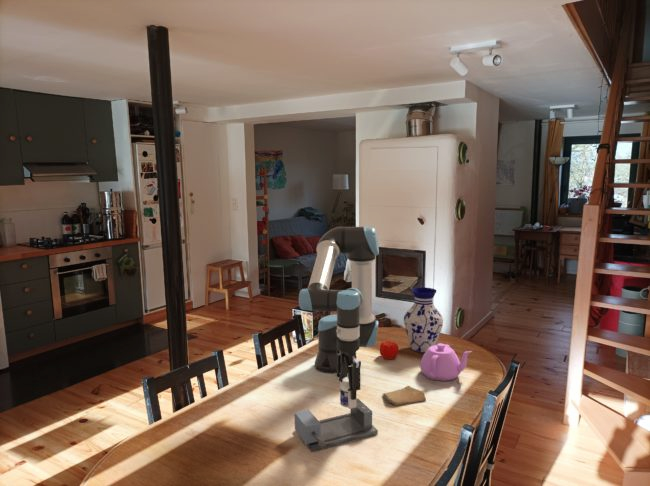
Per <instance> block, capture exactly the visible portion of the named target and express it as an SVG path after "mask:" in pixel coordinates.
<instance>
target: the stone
mask: <svg viewBox="0 0 650 486" xmlns="http://www.w3.org/2000/svg"><path fill="white" fill-rule="evenodd" d="M382 395H383V397H384V399H386V401H387V402H389V403H391V404H394V405H396V406H398V407H399V406H400V407H401V406H404V405H409V404H415V403H419V402H420V403H421V402H426V401H427V399H426V395H425V392H424V391H423V390H420V389H417V388H414V387H412V386H410V385H407V386H405V387H404V388H403V387H402V388H400V389H397V390H393V391H388V392H384V393H382Z"/></svg>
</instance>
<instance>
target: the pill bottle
mask: <svg viewBox="0 0 650 486" xmlns="http://www.w3.org/2000/svg"><path fill="white" fill-rule="evenodd" d="M348 389H350V388H349V379H348V376H347V377H345V378H343V379H342V385H341V387H340V386H339V401H340V402H339V403H340V405H341V406H342V407H343V408H347V409H349V408H348Z"/></svg>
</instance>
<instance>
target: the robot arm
mask: <svg viewBox="0 0 650 486" xmlns="http://www.w3.org/2000/svg"><path fill="white" fill-rule="evenodd" d="M316 245H317V246H316V248H315V249H316V258H315V261H314V266H313V269H312V271H311V276H310V279H309V283H308V285H307V288H302V289H300V291H299V293H298V294H299V295H298V305H299V306H298V307H299V308H300V309H301V310H303V311H311V312H313V311H314V312H317V311H318V312H336V314H329V315H326V316H323V317H322V318H320V319H319V320H318V324H317V325H318V328H317V333H318V335H317V341H318V351H317V354H316V357H315V361H314V368H315V370H317V371H318V372H320V373H323V374H336V378H338V380H339V388H340V387H341V385H342V379H343V378H345V377H348V379H349V388H350V389H348V408H347V409H348V410H350V409H351V408H355V407H356V399H357V391H360V390H361V367H362V361H361V360H357V351H359V350H360V347H361V348H373V347H375V346H376V343H377V338H378V337H377V336H378V330H379V320H376V316H375V314H373V308H372V307H373V298H372V297H373V290H372V289H373V285H372V284H373V277H372V276H373V273H372V271H373V267H372V266H373V262H374V261H375V260H376V256H379V254H380V249H379V238H378V233H377V229H376V228H374V227H372V226H371V227H369V226H336V227H334V228H331V229H330V230H328V231H327V232H326V233H324V234H323V235H322V236H321V237H320V239H319V241H318V242H317V244H316ZM339 255H347V260H348V261H349V262H351V287H349V288H347V289H330V285H331V282H332V281H331V280H332V278H333V277H332V276H333V271H334V269H335V268H334V267H335V264H336V259H337V258H338V257H339Z"/></svg>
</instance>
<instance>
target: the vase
mask: <svg viewBox="0 0 650 486" xmlns="http://www.w3.org/2000/svg"><path fill="white" fill-rule="evenodd" d="M411 293H412V295H413V297H414V302H413V304H412V306H410V308H409V309H407V310H406V312H404V313H405V314H404V316H403V325H404V328H405V333H406V335H407V339H408V341H409V345H410V348H411V350H412V352H415V353H419V354H425V352H426V351H427V350H428V349H429V347H431V346H434V345H437V344H438V343H437V342H438V340H439V337H440V334H441V332H442V329H443V324H444V317H443V316H442V315H443V314H441V312H440V311H439V310H438V309H437V308H436V306H435V305H434V301H433V300H434V298H435V295H436V293H437V290H436V289H435V288H431V287H422V286H421V287H413V288H411Z"/></svg>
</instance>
